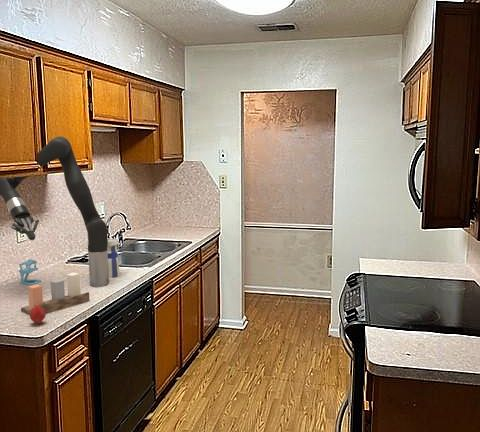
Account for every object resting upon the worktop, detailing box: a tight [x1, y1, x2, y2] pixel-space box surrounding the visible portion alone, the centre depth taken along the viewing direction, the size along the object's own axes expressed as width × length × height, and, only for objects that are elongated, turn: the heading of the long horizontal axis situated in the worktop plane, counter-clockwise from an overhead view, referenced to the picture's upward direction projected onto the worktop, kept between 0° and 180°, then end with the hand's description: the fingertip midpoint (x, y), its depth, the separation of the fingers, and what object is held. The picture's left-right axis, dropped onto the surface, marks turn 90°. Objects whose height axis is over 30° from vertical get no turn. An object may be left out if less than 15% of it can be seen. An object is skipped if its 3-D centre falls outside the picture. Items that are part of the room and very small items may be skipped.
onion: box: [29, 304, 46, 325], centre depth 195 cm, size 6×6×8 cm
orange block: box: [27, 283, 44, 310], centre depth 206 cm, size 4×4×10 cm
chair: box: [18, 259, 42, 286], centre depth 249 cm, size 8×8×12 cm
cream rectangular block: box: [66, 272, 81, 297], centre depth 223 cm, size 4×4×10 cm
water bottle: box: [107, 238, 121, 279], centre depth 259 cm, size 8×9×25 cm
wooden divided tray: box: [20, 291, 91, 316], centre depth 215 cm, size 26×11×4 cm, turn 139°
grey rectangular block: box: [50, 278, 66, 302], centre depth 213 cm, size 4×4×10 cm
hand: (33, 239), depth 221 cm, fingers closed
